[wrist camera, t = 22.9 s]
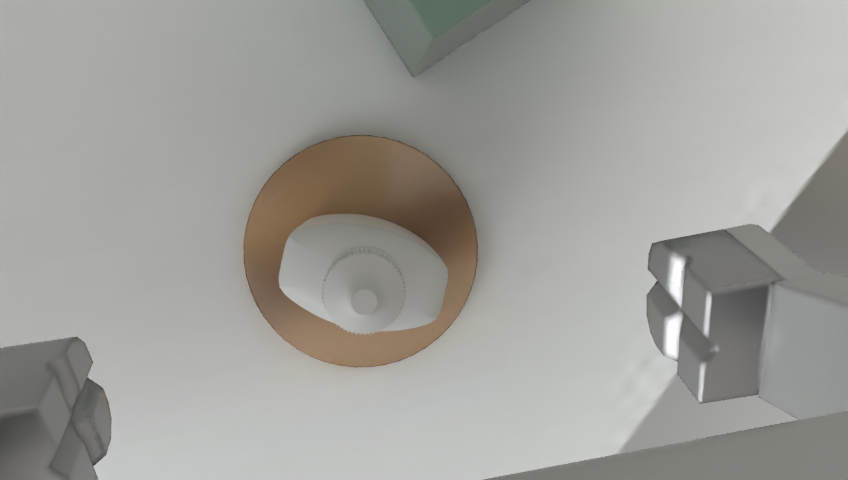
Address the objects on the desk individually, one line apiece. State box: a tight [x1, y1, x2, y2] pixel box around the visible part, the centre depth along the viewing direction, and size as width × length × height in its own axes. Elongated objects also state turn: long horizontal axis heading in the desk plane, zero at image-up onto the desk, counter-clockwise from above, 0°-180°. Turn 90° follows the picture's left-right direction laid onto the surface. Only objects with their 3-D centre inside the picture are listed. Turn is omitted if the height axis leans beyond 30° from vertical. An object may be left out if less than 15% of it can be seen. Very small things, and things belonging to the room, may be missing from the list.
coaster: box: [244, 135, 478, 367], centre depth 32 cm, size 10×10×1 cm
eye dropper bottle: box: [279, 214, 448, 335], centre depth 26 cm, size 4×6×12 cm
